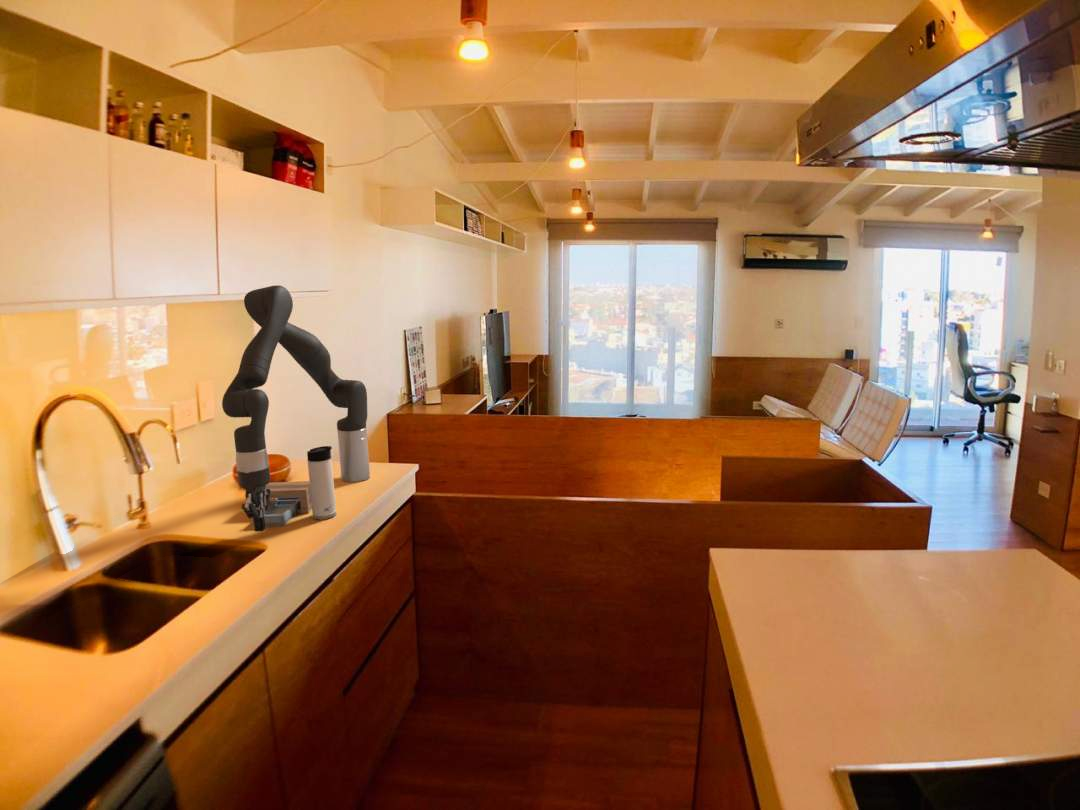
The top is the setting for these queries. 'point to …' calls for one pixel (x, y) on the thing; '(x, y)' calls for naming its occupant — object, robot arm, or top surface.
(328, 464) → the travel mug
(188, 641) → the top surface
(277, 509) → the tray shell
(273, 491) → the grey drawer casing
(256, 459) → the robot arm
